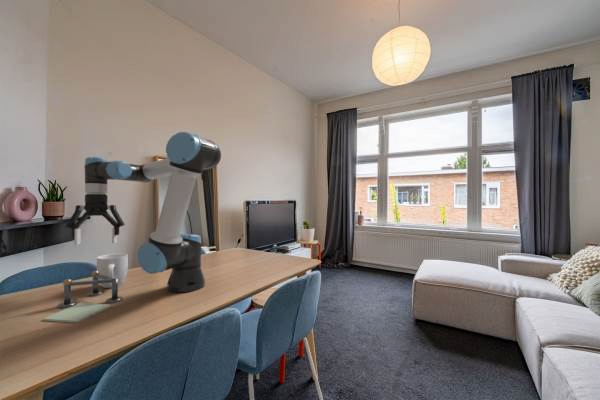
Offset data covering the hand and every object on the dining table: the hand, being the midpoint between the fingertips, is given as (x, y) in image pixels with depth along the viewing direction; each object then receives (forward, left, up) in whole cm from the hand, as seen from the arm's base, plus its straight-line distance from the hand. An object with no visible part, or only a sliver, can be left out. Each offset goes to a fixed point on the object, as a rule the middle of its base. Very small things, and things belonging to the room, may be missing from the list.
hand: (96, 243), depth 107 cm
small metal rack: (-12, +11, -19) cm, 25 cm away
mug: (-5, -3, -19) cm, 20 cm away
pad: (-16, +22, -19) cm, 33 cm away
